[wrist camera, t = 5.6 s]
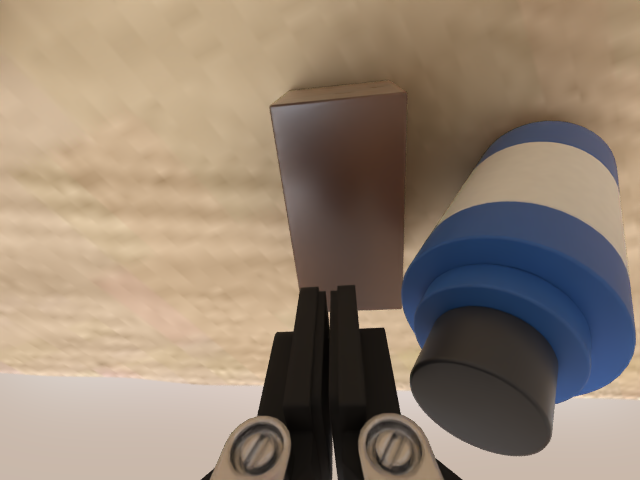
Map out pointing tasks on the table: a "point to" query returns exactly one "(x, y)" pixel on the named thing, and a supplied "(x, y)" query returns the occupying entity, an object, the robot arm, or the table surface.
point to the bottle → (522, 290)
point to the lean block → (345, 187)
